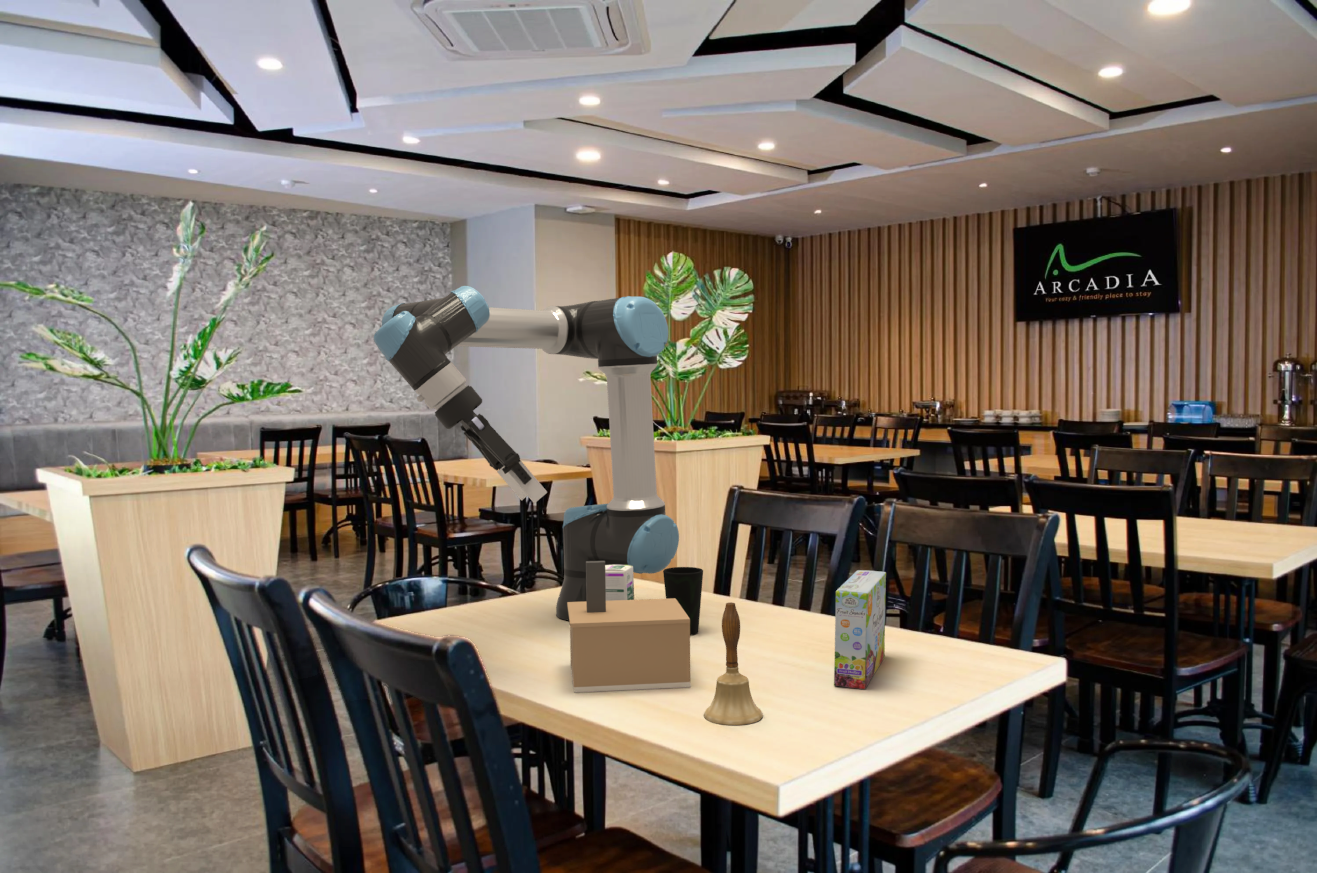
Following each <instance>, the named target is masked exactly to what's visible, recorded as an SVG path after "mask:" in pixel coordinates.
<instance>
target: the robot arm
mask: <svg viewBox="0 0 1317 873" xmlns="http://www.w3.org/2000/svg"><path fill="white" fill-rule="evenodd" d="M668 340H669V326H668V322H667V319H666V315H665V314H664V312H663V310H662V309H661V308H660V307H658V305H657V303H655V301H653V300H652V299H650V298H648V297H644V296H630V295H627V296H622V297H615V298H610V299H603V300H593V301H591V300H590V301H586V302H582V303H578V304H577V303H576V304H571V305H563V306H562V305H561V306H559V305H550V306H546V307H545V308H544V309H543V310H542V309H541V310H539V309H525V308H524V309H523V308H521V309H520V308H507V307H506V308H505V307H504V308H503V307H492V306H491V307H489V305H488V303H487V301H486V299H485V297H484V296H483V294H481V293H480V291H478V290H477V289H475V288H474V287H472V286H470V285H469V286H468V285H461V286H460V287H458V288H456V289H454V290H451V291H450V293H448V294H447V295H446V296H444V297H440V298H432V299H428V300H421V301H415V302H414V301H413V302H407V303H405V302H402V303H399V304H396V305H393V306H390V307H389V308H388V309H386V311H385V312H384V314H383V315H382V318H381V327H380V328H378V329H377V331H375V333H374V335H373V342H374V344H375V345H376V347H377V349H378V350H379V351H380V352H381V354H382V355H383V356H384V358H385V359H386V361H387V362H389V363H390V364H391V366H392V367H393V368H394V369H395V370H396V371H397V372H398V373H399V375H400V376H401V377H402V378H403V379H404V380H405V382H407V384H408V385H409V386H410V387H411V388H412V390H413V391H414V392H415V393H416V394H417V395H418V396H417V397H416V401H417V402H418V403H421V402H423V401H424V404H425V405H426V406H427V407H428V408H429V409H430V410H433V409H435V411H434V416H435V417H436V418H437V420H438V421H439V422H440V423H441V424H442V425H443V427H444V428H445V429H446V430H451V429H452V428H454V427H455V426H456V425H457V424H459V423H461V426H460V428H461V431H462V432H463V434H464V436H465V437H466V439H468V440H469V441H470V442H472V444H473V446H474V447H476V449H477V450H478V451H479V452H480V454H481V455H482V456H483V458H484V459H485V461H486V462H487V463H488V464H489V467H490V468H492V469H494V470H495V471H497V474H498V475H499V476H500V477H501V479H502V480H503V481H504V482H505V483H506V484H507V486H508V487H509V488H510V489H511V490H512V491H513V492H514V494H515V495H516V496H517V497H518V498H519V499H520V501H523V500H524V499H525V498H526V497H528V498H529V499H530V500H531V502H532V503H534V504H536V503H537V502H538V501H539V500H540V499H542V498H543V497H544V496H545V495H546V494H547V493H548V491H547V490H546V488H544V486H543V485H542V483H541V482H539V480H538V479H537V478H536V476H534V474H533V473H532V472H531V471H530V469H529V468H528V467H527V466H526V464H525V463H524V462H523V461H522V460H521V456H520V455H519V453H517V452H516V451H515V450H514V449H513V448H512V447H511V445H509V444H508V443H507V441H506V440H504V438H503V437H502V436H501V435H500V434H499V432H497V431H496V430H495V429H494V427H493V426H492V425H491V424H490V423H489V420H488V419H486V417H484V415H483V414H481V413H478V414H477V413H475V412H474V410H476V409H477V408H479V406H481V405H482V404H483V398H482V397H481V396H480V395H479V393H478V392H477V391H476V390H475V389H474V387H472V385H467V384H466V383H467V379H466V377H465V376H464V375H463V374H462V372H460V370H459V369H458V368H457V366H455V365H454V363H453V362H452V361H451V360H450V359H449V357H448V356H447V355H446V354H448V353H450V352H451V351H452V350H453V349H454V348H456V347H464V348H465V347H467V348H469V347H470V348H498V349H499V348H501V349H503V348H504V349H506V348H507V349H531V350H532V349H537V350H539V349H540V350H542V351H543V352H544V353H546V354H548V355H560V356H561V355H563V356H570V357H578V358H583V359H592V360H597V365H598V369H599V371H601V372H602V374H603V375H605V377H606V388H607V389H606V390H607V403H608V404H607V407H608V419H609V420H608V424H609V438H610V441H609V442H610V455H611V456H610V458H611V475H612V490H613V491H612V492H613V493H612V494H613V497H612V499H611V500H610V501H609V503H601V504H592V505H582V506H574V507H573V506H572V507H568V508H567V509H565V511H564V512H563V513H564V514H563V524H562V539H563V546H562V547H563V570H564V573H563V574H564V575H563V578H564V579H563V581H562V584H561V588H560V591H559V595H558V598H557V602H556V605H555V606H556V607H555V611H556V612H555V613H556V617H557V618H559V619H561V620H564V621H569V614H568V607H567V602H585V601H586V561H605V565H617V564H621V565H631V566H633V574H634V573H635V574H641V575H643V574H650V575H651V574H657V573H659V572H661V571H663V570H665V569H667V567H669V565H670V563H671V561H672V559H674V557H675V556H676V554H677V552H678V548H679V543H680V542H679V541H680V533H679V528H678V525H677V523H675V521H674V519H673V518H671V517H670V516H668V515H666V504H665V501H664V500H663V499H662V498H661V497H659V495H658V493H657V491H658V489H657V475H656V473H657V472H656V455H655V437H654V436H655V435H654V420H653V417H654V415H653V403H652V402H653V400H652V398H653V397H652V383H651V379H652V378H651V374H652V372H653V371H654V370H655V369H656V368H657V367H658V355H659V354H660V353H662V352H663V351H664V349H665V348H666V347H665V345H666V344H667V343H668Z"/></svg>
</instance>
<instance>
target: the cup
mask: <svg viewBox="0 0 1317 873" xmlns="http://www.w3.org/2000/svg"><path fill="white" fill-rule="evenodd" d="M662 571H663V572H662V573H663V581H664V593H665V599H670V598H676V600H677V601H678V603H679V604H680V605H681V607H682V608H683V610H684V611H685V613H686V614H687V615H688V617H689V618H690V636H695V635H697V634H699V631H700V630H699V629H700V628H699V627H700V615H701V605H702V604H701V603H702V592H703V591H702V590H703V587H702V586H703V580H704V579H703V578H704V569H702V568H699V567H695V566H694V567H691V566H677V567H675V566H674V567H669V568H667V567H666V568H664V569H663V570H662Z"/></svg>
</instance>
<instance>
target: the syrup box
mask: <svg viewBox="0 0 1317 873" xmlns="http://www.w3.org/2000/svg"><path fill="white" fill-rule="evenodd" d="M634 583H635V580H634V572H633V566H631V565H621V564H617V565H605V585H606V601H614V600H635V586H634V585H635V584H634Z"/></svg>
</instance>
